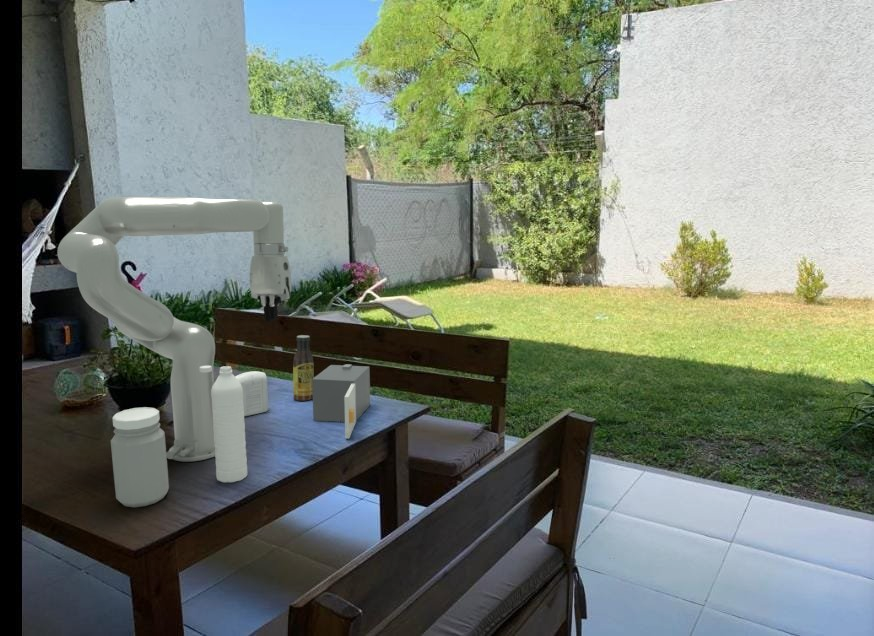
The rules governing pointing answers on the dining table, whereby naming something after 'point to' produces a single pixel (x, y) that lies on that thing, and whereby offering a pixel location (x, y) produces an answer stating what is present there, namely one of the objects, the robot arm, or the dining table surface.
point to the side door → (350, 410)
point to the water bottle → (228, 426)
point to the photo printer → (254, 392)
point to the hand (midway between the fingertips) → (270, 320)
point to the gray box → (339, 391)
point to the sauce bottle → (303, 370)
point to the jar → (139, 457)
